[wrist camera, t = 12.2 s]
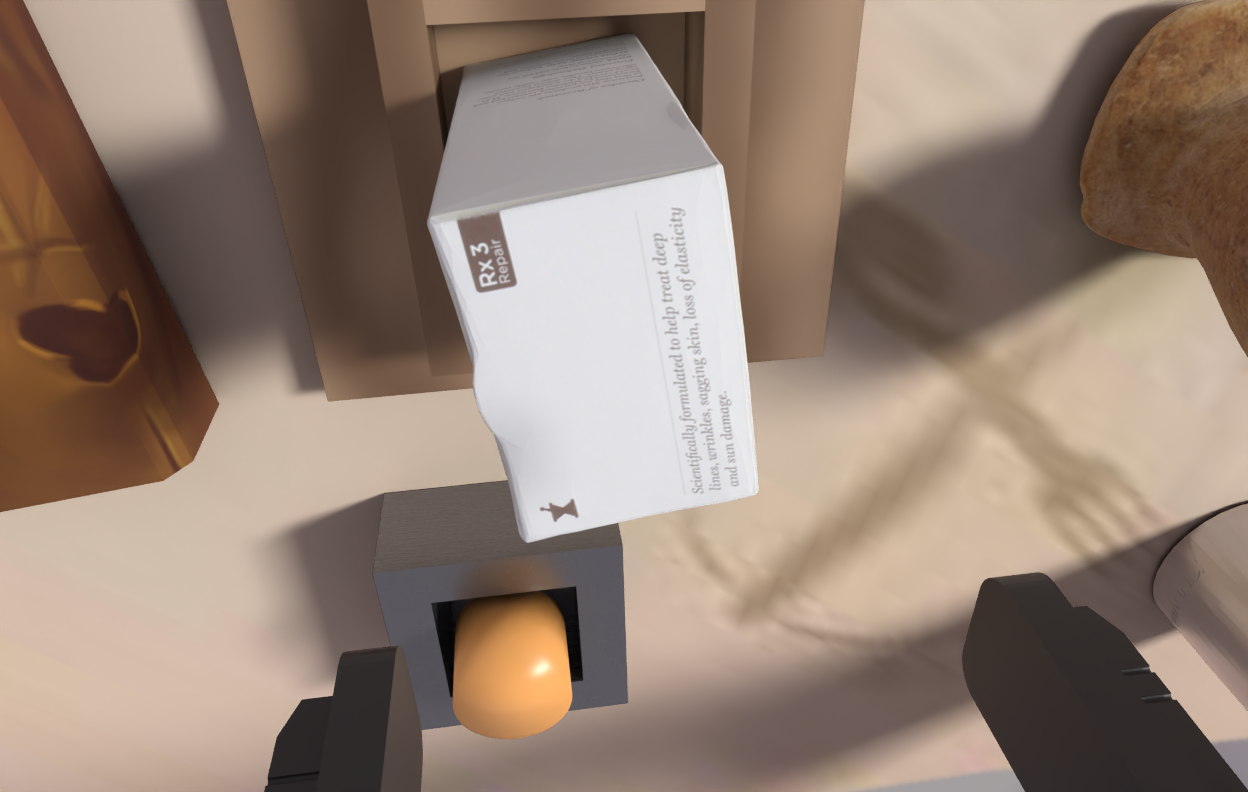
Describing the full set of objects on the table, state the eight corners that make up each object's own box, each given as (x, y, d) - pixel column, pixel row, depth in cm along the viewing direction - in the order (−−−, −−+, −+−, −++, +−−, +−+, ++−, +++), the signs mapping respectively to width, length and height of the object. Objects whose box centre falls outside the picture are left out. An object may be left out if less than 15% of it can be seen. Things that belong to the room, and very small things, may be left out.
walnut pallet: (865, -161, 28) (925, -160, 24) (811, 338, 37) (848, 394, 34) (205, -140, 26) (158, -134, 22) (333, 381, 35) (315, 446, 32)
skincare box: (666, 251, 33) (778, 509, 20) (508, 285, 32) (523, 565, 20) (630, 14, 28) (748, 161, 16) (445, 51, 28) (416, 231, 15)
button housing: (607, 470, 40) (622, 545, 36) (614, 622, 45) (627, 703, 41) (384, 493, 39) (372, 573, 35) (418, 646, 44) (412, 731, 40)
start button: (561, 581, 38) (568, 654, 34) (567, 656, 40) (575, 730, 37) (448, 594, 37) (445, 669, 34) (462, 669, 40) (460, 745, 36)
